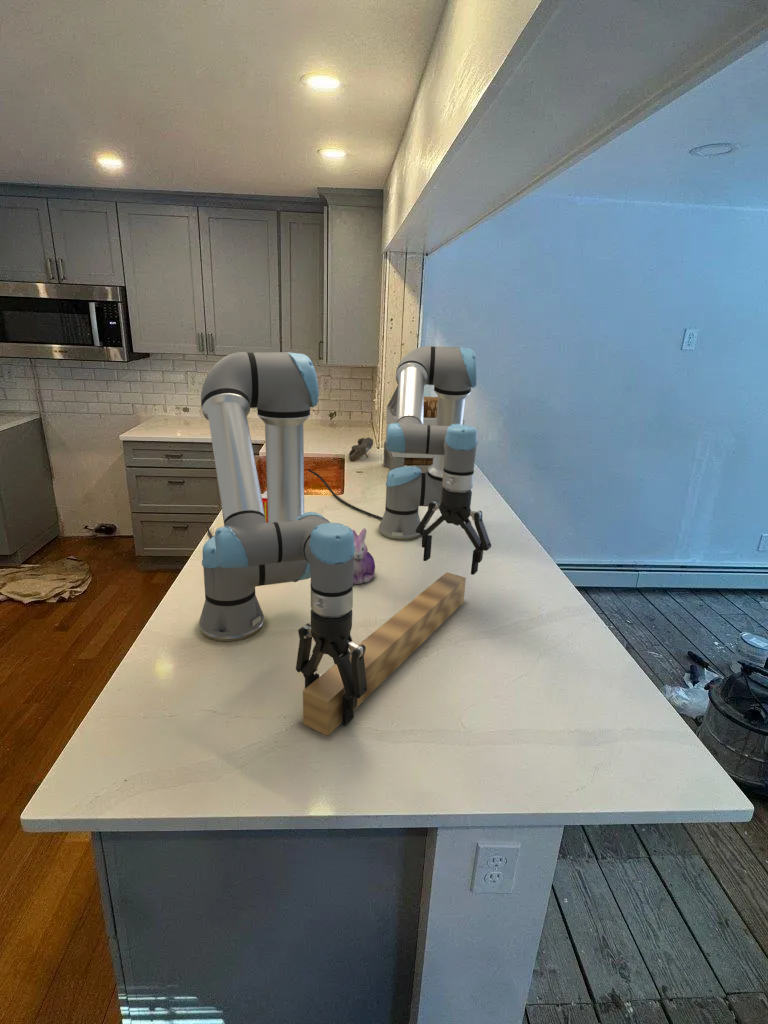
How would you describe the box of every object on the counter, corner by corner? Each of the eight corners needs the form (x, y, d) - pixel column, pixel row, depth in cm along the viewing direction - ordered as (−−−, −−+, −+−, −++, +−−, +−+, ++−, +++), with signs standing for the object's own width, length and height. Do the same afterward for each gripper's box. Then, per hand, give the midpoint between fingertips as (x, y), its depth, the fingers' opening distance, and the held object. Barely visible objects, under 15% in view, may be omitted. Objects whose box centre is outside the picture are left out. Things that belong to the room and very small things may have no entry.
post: (444, 596, 157) (446, 571, 155) (463, 602, 155) (466, 577, 152) (303, 724, 107) (302, 690, 105) (327, 736, 105) (327, 701, 102)
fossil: (348, 443, 308) (370, 428, 303) (359, 457, 311) (381, 442, 306) (342, 457, 289) (365, 441, 284) (354, 472, 292) (377, 456, 287)
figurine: (352, 587, 160) (354, 538, 155) (338, 573, 168) (339, 526, 163) (382, 582, 164) (384, 534, 159) (367, 567, 172) (369, 521, 167)
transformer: (382, 463, 289) (386, 382, 275) (445, 464, 293) (451, 384, 279) (390, 482, 257) (394, 392, 243) (460, 483, 261) (468, 394, 247)
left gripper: (274, 600, 104) (276, 703, 111) (368, 635, 94) (363, 746, 102) (300, 585, 110) (301, 684, 117) (391, 617, 100) (385, 722, 108)
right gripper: (405, 482, 144) (401, 558, 151) (499, 502, 132) (489, 584, 139) (419, 476, 150) (414, 549, 157) (510, 494, 138) (500, 573, 145)
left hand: (330, 712), depth 110 cm, fingers open, 8 cm apart
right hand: (449, 566), depth 148 cm, fingers open, 13 cm apart
